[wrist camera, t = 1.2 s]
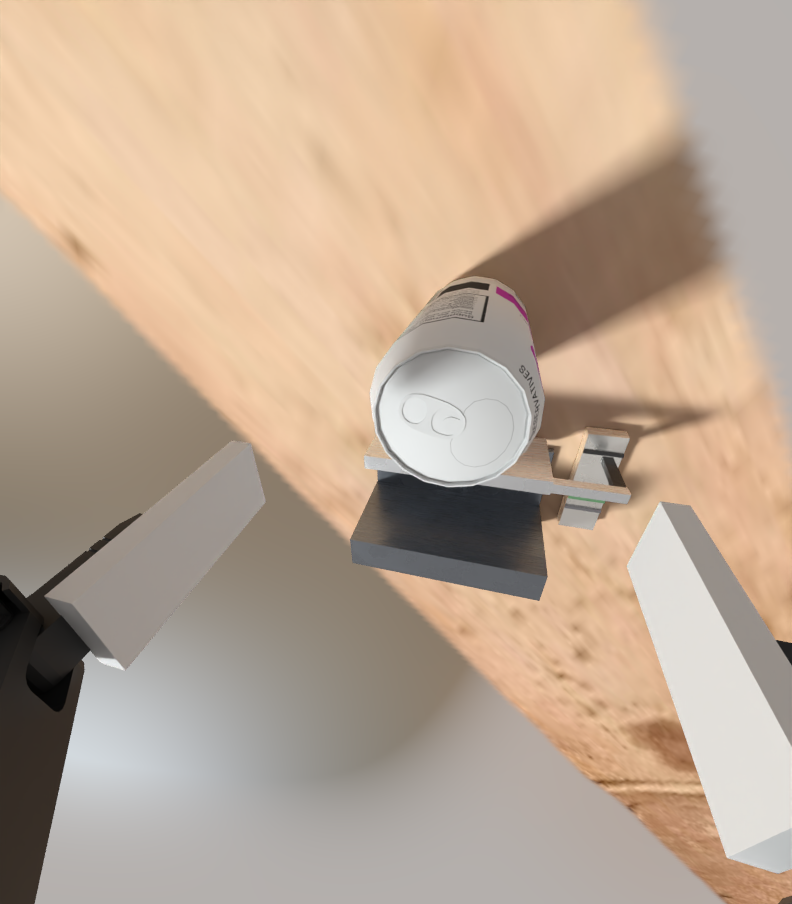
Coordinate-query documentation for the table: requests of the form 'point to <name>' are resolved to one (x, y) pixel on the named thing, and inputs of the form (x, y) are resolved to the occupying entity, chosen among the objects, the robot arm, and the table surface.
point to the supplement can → (460, 386)
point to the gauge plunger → (529, 474)
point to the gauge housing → (475, 525)
